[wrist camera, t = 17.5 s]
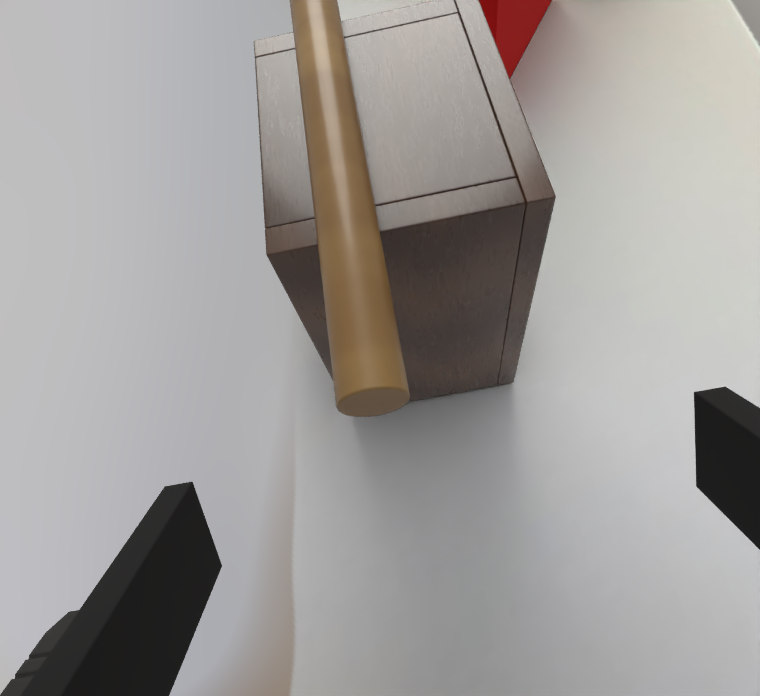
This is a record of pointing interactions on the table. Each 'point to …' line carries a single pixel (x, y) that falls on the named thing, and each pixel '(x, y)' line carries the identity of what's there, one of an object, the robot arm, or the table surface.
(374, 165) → the divided box with dowel
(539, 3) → the red rounded slab
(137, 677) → the robot arm
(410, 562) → the table surface
